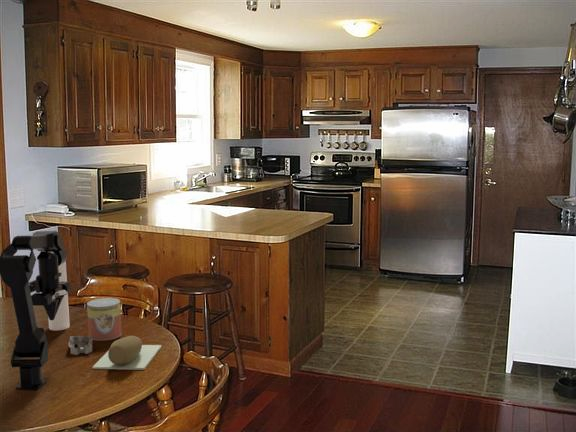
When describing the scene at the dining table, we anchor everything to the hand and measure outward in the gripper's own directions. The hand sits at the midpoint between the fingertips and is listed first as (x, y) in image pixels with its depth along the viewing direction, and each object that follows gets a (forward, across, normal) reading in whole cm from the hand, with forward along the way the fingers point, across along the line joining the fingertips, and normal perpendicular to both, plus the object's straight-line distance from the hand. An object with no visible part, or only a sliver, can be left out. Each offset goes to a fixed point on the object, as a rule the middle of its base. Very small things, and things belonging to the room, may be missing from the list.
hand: (52, 319), depth 204 cm
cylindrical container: (+13, -32, -12) cm, 37 cm away
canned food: (+13, -24, +8) cm, 29 cm away
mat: (+13, -3, +23) cm, 27 cm away
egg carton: (+14, -10, +5) cm, 17 cm away
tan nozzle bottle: (+8, +8, +23) cm, 26 cm away
